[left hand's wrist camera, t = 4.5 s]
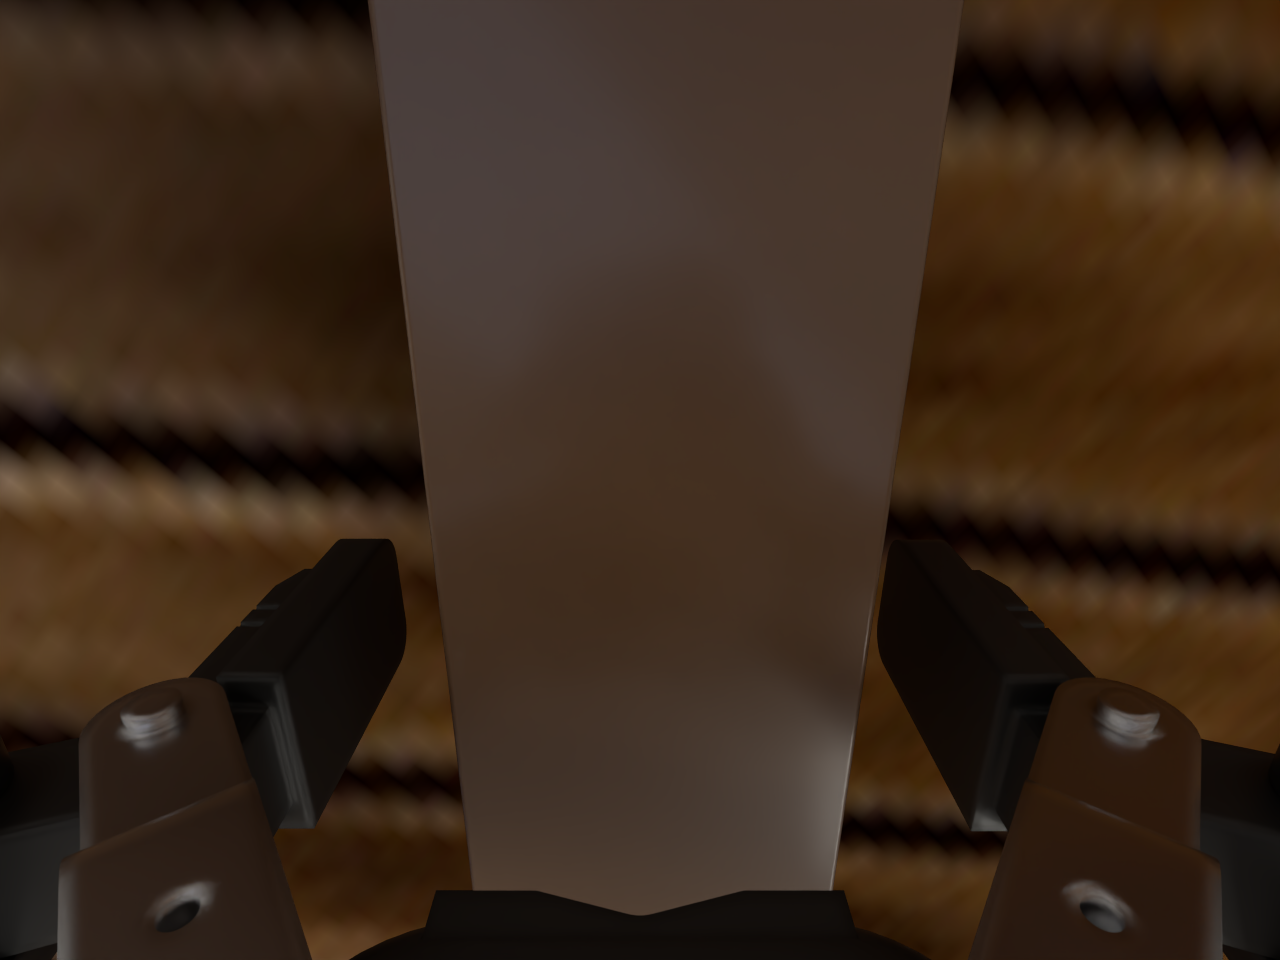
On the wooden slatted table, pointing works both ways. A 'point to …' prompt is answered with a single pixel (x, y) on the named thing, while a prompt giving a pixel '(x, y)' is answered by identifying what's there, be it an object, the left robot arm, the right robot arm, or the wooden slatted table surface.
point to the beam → (659, 411)
